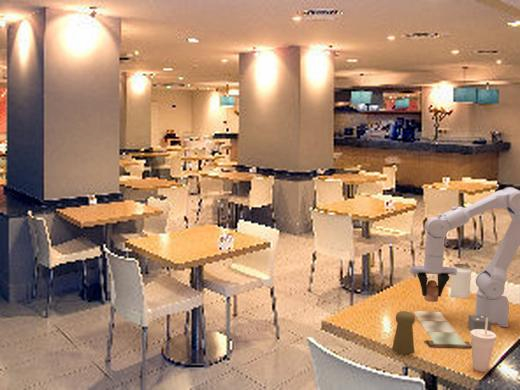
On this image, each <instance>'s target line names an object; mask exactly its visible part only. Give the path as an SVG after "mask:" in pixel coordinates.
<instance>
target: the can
mask: <svg viewBox="0 0 520 390" xmlns="http://www.w3.org/2000/svg"><path fill="white" fill-rule="evenodd" d="M452 268H456V269H457V275H453V274H451V282H450V297H451V298H459V299H465V298H466V299H469V298H470V292H471V291H470V290H471V279H472V278H471V277H472V270H471V266H470V265H469V264H465V263H455V264H453V267H452Z"/></svg>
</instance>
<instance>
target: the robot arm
mask: <svg viewBox="0 0 520 390" xmlns="http://www.w3.org/2000/svg"><path fill="white" fill-rule="evenodd" d="M495 208H496V209H497V208H498V209H506V210H507V211H508V213H509V216H510V218H511V222H510V224H509V225H508V228H507V230H506V232H505V233H504V235H503V237H502V239H501V242H500V244H499V245H498V247H497V249H496V251H495V253H494V255H493V257H492V258H491V261H490V263H489V264H487V265H486V266H485V267H484V268H483V270H482V271H481V272H480V273H479V274H477V276H476V278H475V284H476V286H477V288H478V290H477V291H476V301H475V312H474V315H480V316H486V317H487V318H488V319H489V320H490V321H491V324H497V325H498V326H499V327H501V328H502V327H505V328H508V327H509V323H508V322H509V314H510V313H509V312H510V303H509V299H508V297H507V296H505V295H503V294H504V293H505V284H506V282H507V280H508V279H507V271H508V270H509V267H510V265H511V263H512V262H513V260H514V258H515V256H516V254H517V252H518V250H519V248H520V190H518V189H516V188H515V187H512V186H509V187H508V186H507V187H505V188H503V189H499V190H496V191H495V192H492V193H491V194H490V195H488V196H485V197H484V198H482V199H480V200H478V201H475V202H474V203H471V204H470V205H468V206H467V207H463V206H455V205H454V206H452V207H451V209H450V210H448V211H446V212H444V213H438V214H437V216H431V217H429V218H428V219H427V221H425V224H424V229H425V231H426V237H425V247H424V248H425V249H424V261H423V262H424V264H423V265H419V266H417V265H416V266H415V265H413V266H409V273H410V274H411V275H414V274H416V276H417V279H418V281H419V284H420V289H421V295H422V296H423V297H425V296H426V285H427V283H428V280H429V278H428V275H437V286H439V292H438V298H439V297H442V294H443V290H444V288H445V286H446V284H447V283H448V281H449V280H450V276H449V275H452V274H453V275H457V269H456V268H453V267H450V266H444V253H445V237H446V235H447V233H448V232H450V231H452V230H455V229H457V228H459V227H461V226H463V225H466V224H467V223H469V221H470V219H471V218H472V217H474V216H477V215H480V214H481V213H485V212H487V211H489V210H492V209H495Z"/></svg>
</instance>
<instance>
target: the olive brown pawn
mask: <svg viewBox="0 0 520 390" xmlns="http://www.w3.org/2000/svg"><path fill="white" fill-rule="evenodd" d="M415 320H416V317H415V314H414V313H412V312H410V311H407V310H400V311H398V312H397V313H396V316H395V321H396V323H397V324H396V327H395V333H394V339H393V344H392V351H393V352H395V353H396V354H401V355H412V354H414V353H415V344H414V330H413V329H414V328H413V325H414V324H415Z"/></svg>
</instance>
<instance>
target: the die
mask: <svg viewBox="0 0 520 390" xmlns="http://www.w3.org/2000/svg"><path fill="white" fill-rule="evenodd" d="M486 318H487V317H486V316H480V315H475V314H473V315H472V314H469V315H468V323H467V328H468V329H469V330H470V332H471V331H472V330H474V329H483V330H485V323H486ZM491 329H492V323H491V321H490V320H489V319H488V326H487V330H488V331H491V332H492V330H491Z"/></svg>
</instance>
